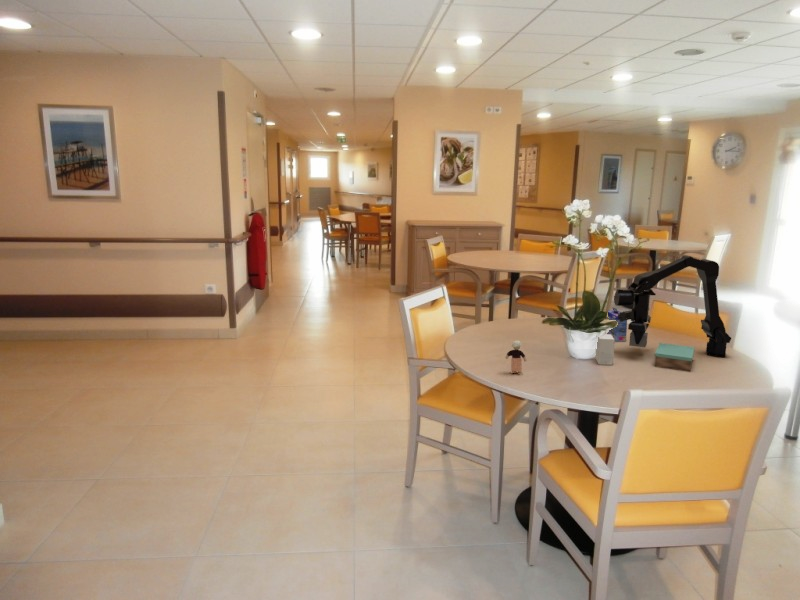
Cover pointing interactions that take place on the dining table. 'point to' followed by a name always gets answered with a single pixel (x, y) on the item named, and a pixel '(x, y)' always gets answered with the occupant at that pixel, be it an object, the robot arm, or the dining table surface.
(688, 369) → the storage box
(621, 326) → the ink cartridge box
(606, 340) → the small box
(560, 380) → the dining table surface
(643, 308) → the robot arm
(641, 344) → the block
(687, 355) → the lid
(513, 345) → the grandmother figurine
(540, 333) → the dining table surface
